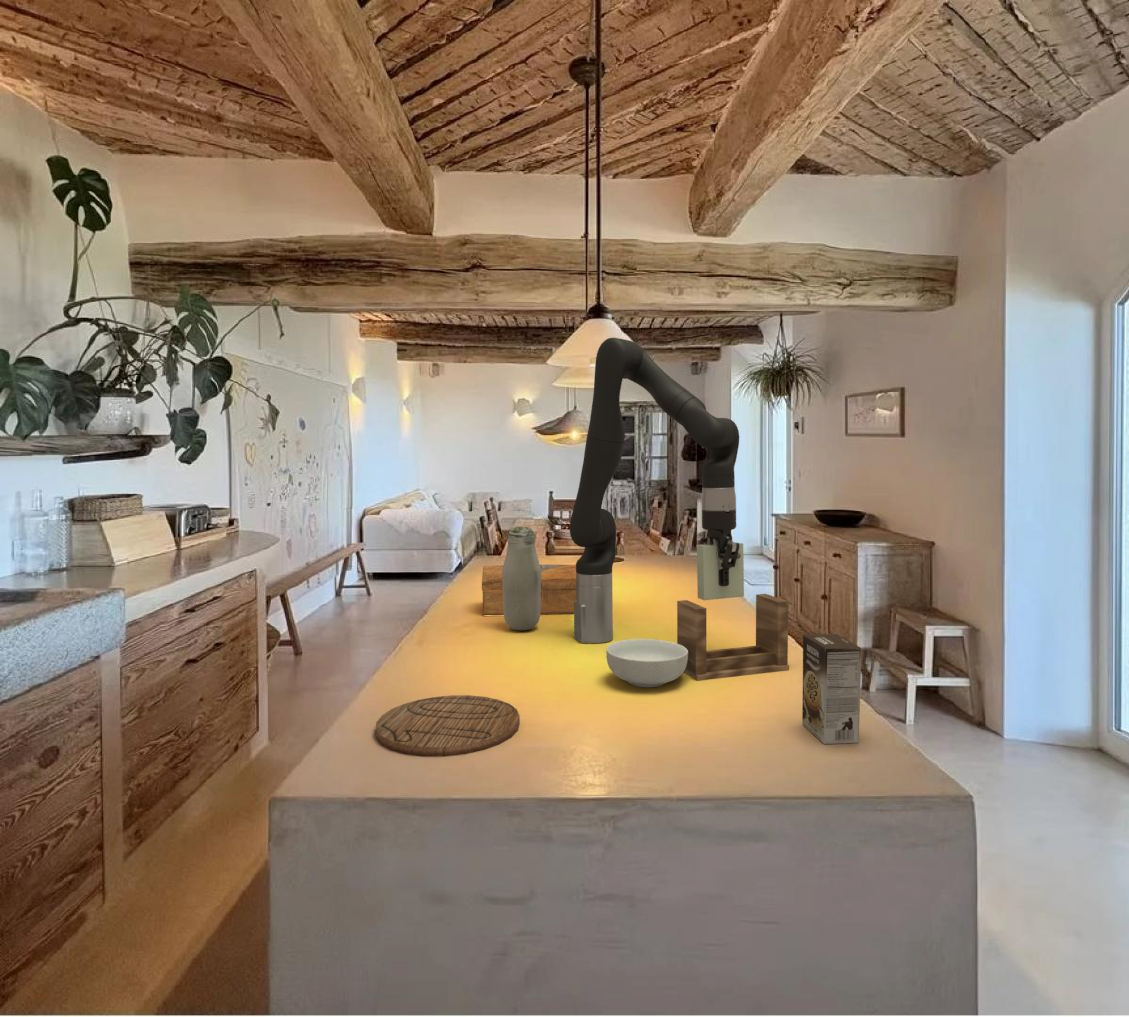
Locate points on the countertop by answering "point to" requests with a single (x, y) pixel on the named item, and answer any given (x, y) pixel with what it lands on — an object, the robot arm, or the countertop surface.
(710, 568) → the door panel
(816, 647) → the coffee box
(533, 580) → the grey green bottle
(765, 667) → the brown wooden stand
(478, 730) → the trivet
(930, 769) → the countertop surface
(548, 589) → the wooden box
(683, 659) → the cereal bowl
